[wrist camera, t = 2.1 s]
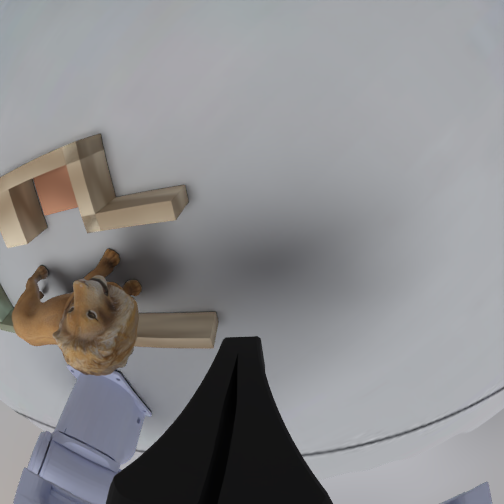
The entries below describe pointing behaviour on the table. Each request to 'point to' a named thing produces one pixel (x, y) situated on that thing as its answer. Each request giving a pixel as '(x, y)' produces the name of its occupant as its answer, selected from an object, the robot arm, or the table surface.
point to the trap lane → (95, 225)
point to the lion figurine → (83, 319)
